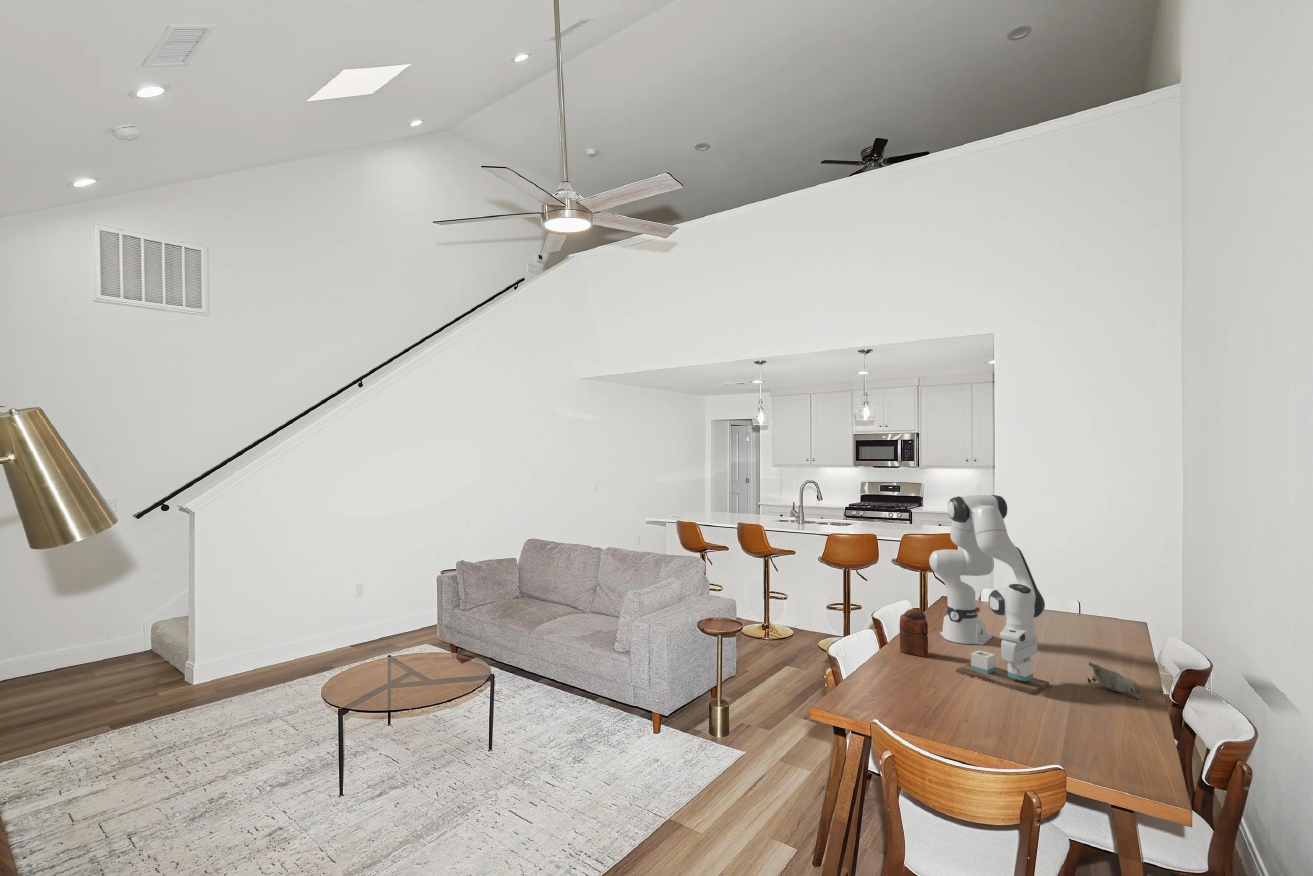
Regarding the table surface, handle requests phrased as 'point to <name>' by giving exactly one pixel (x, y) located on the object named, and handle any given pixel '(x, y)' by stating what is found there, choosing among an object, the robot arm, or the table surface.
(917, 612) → the brown leather case
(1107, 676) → the decorative bird
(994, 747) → the table surface
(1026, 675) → the cream sleeve
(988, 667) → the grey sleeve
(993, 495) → the robot arm
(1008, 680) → the pin board
